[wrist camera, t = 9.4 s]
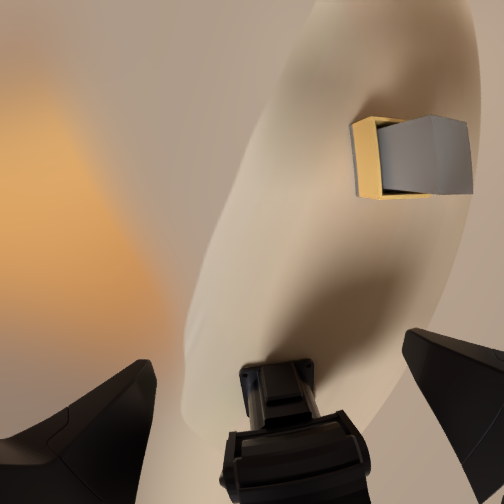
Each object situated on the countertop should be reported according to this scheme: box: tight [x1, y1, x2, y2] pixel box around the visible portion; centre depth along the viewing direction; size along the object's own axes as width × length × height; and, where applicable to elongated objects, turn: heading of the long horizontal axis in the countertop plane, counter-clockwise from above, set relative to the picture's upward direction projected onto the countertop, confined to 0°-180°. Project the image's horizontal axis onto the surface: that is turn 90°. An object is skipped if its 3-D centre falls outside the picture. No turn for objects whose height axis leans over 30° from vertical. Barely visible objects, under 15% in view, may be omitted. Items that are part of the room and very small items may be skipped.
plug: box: [376, 115, 473, 195], centre depth 14 cm, size 4×3×8 cm
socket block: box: [349, 116, 431, 200], centre depth 17 cm, size 5×5×4 cm
